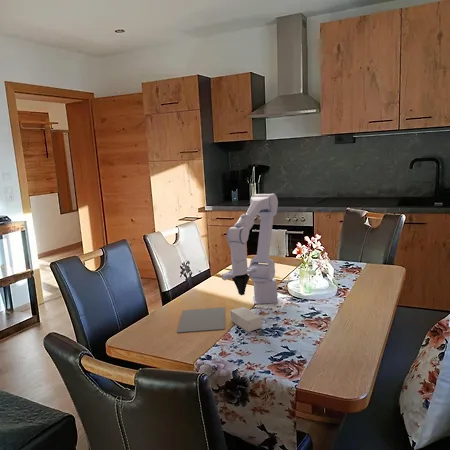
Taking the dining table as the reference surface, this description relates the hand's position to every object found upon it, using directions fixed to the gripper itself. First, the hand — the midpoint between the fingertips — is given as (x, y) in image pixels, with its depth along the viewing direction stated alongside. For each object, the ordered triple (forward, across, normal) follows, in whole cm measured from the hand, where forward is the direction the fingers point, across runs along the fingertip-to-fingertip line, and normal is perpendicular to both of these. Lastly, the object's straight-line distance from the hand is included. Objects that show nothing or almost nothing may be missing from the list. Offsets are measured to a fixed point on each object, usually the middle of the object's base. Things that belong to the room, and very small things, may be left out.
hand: (241, 294), depth 156 cm
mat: (+9, +14, -8) cm, 18 cm away
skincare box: (+7, +3, 0) cm, 7 cm away
